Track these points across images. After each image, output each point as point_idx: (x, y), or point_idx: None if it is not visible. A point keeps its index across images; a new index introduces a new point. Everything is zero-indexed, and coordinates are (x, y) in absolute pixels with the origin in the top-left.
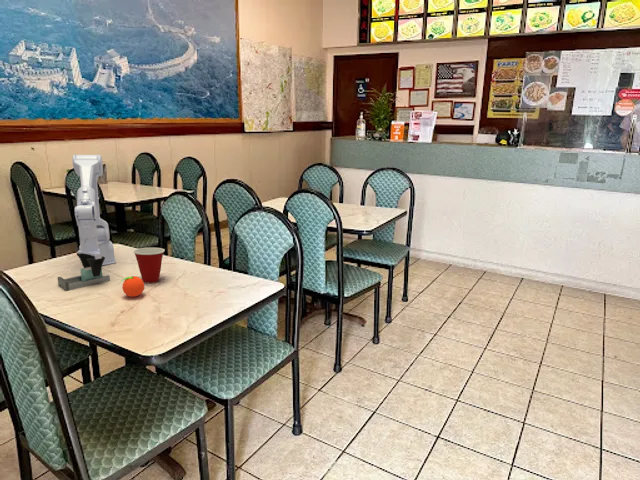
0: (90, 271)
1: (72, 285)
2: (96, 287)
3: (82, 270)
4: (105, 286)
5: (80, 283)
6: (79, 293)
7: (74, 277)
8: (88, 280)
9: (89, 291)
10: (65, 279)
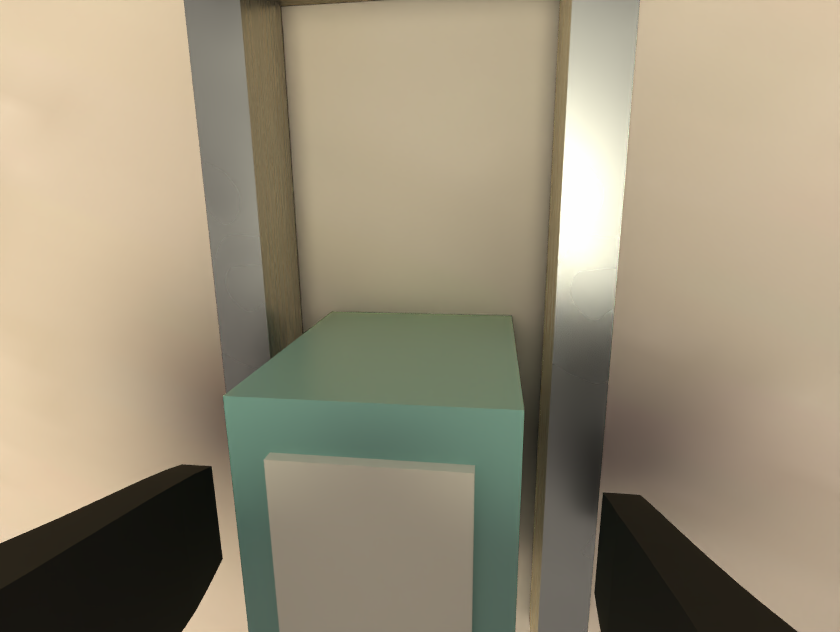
0: (246, 505)
1: (202, 55)
2: (126, 364)
3: (365, 400)
4: (101, 458)
5: (216, 206)
6: (12, 89)
7: (573, 232)
8: (234, 352)
9: (23, 231)
10: (584, 36)
